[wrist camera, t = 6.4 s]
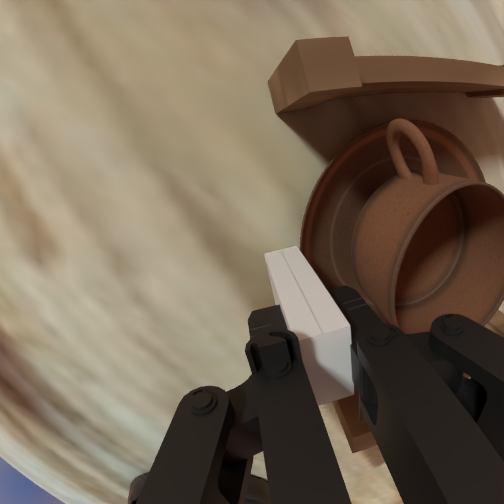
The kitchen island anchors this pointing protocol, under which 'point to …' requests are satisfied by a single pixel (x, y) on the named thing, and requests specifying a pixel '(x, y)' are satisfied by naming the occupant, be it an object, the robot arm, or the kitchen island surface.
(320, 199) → the cup and saucer
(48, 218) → the kitchen island surface
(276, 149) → the kitchen island surface
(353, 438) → the brown wooden rail pair
